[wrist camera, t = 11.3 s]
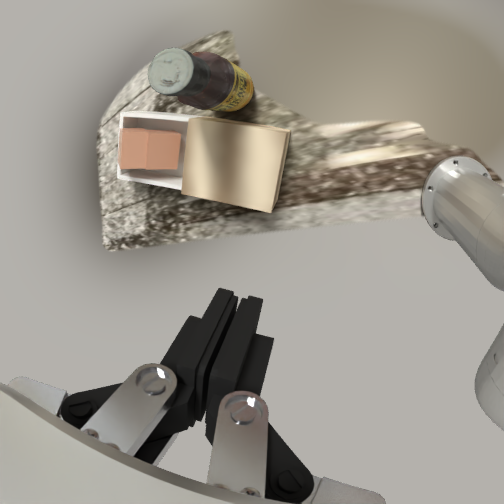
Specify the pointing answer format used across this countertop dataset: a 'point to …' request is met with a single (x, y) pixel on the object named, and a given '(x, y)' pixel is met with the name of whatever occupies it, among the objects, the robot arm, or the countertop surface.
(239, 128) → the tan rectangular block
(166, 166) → the block
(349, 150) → the countertop surface
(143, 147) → the block
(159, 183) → the box
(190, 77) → the sauce bottle
